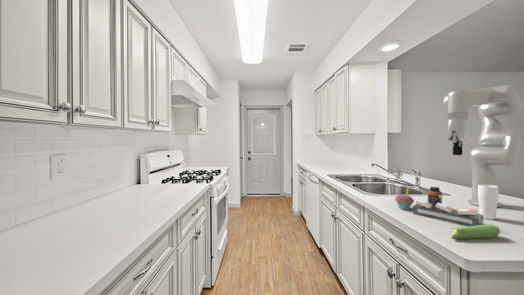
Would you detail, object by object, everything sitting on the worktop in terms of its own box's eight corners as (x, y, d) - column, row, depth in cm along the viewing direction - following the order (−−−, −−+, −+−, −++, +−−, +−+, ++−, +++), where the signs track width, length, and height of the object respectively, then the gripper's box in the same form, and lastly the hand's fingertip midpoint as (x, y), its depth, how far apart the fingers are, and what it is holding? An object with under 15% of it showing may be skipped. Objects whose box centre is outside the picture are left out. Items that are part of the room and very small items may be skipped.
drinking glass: (493, 216, 106) (494, 184, 105) (501, 221, 100) (501, 187, 99) (474, 214, 109) (475, 184, 108) (481, 219, 103) (481, 186, 102)
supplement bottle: (444, 210, 116) (444, 188, 116) (431, 209, 118) (431, 188, 117) (437, 206, 122) (438, 186, 122) (425, 206, 123) (425, 185, 123)
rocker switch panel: (419, 210, 117) (419, 201, 117) (483, 223, 97) (483, 213, 97) (412, 213, 112) (412, 204, 112) (478, 228, 93) (478, 217, 93)
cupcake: (413, 207, 122) (413, 185, 122) (413, 211, 115) (414, 188, 115) (395, 205, 127) (395, 184, 127) (394, 209, 120) (394, 187, 119)
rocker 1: (418, 202, 113) (418, 199, 113) (431, 207, 109) (432, 204, 108) (415, 203, 112) (416, 200, 111) (429, 208, 107) (430, 205, 107)
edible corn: (506, 228, 82) (494, 220, 87) (453, 232, 82) (443, 224, 86) (502, 240, 84) (490, 232, 88) (450, 243, 84) (440, 235, 88)
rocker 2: (437, 205, 107) (438, 202, 106) (452, 211, 102) (453, 208, 102) (435, 206, 105) (436, 203, 105) (450, 212, 101) (451, 209, 100)
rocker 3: (460, 212, 100) (459, 209, 100) (477, 213, 95) (476, 209, 96) (458, 214, 98) (457, 210, 99) (475, 214, 94) (474, 210, 94)
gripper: (452, 118, 116) (452, 153, 116) (442, 117, 107) (442, 155, 108) (472, 116, 110) (472, 154, 110) (463, 115, 101) (463, 156, 102)
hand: (457, 154), depth 109 cm, fingers closed
